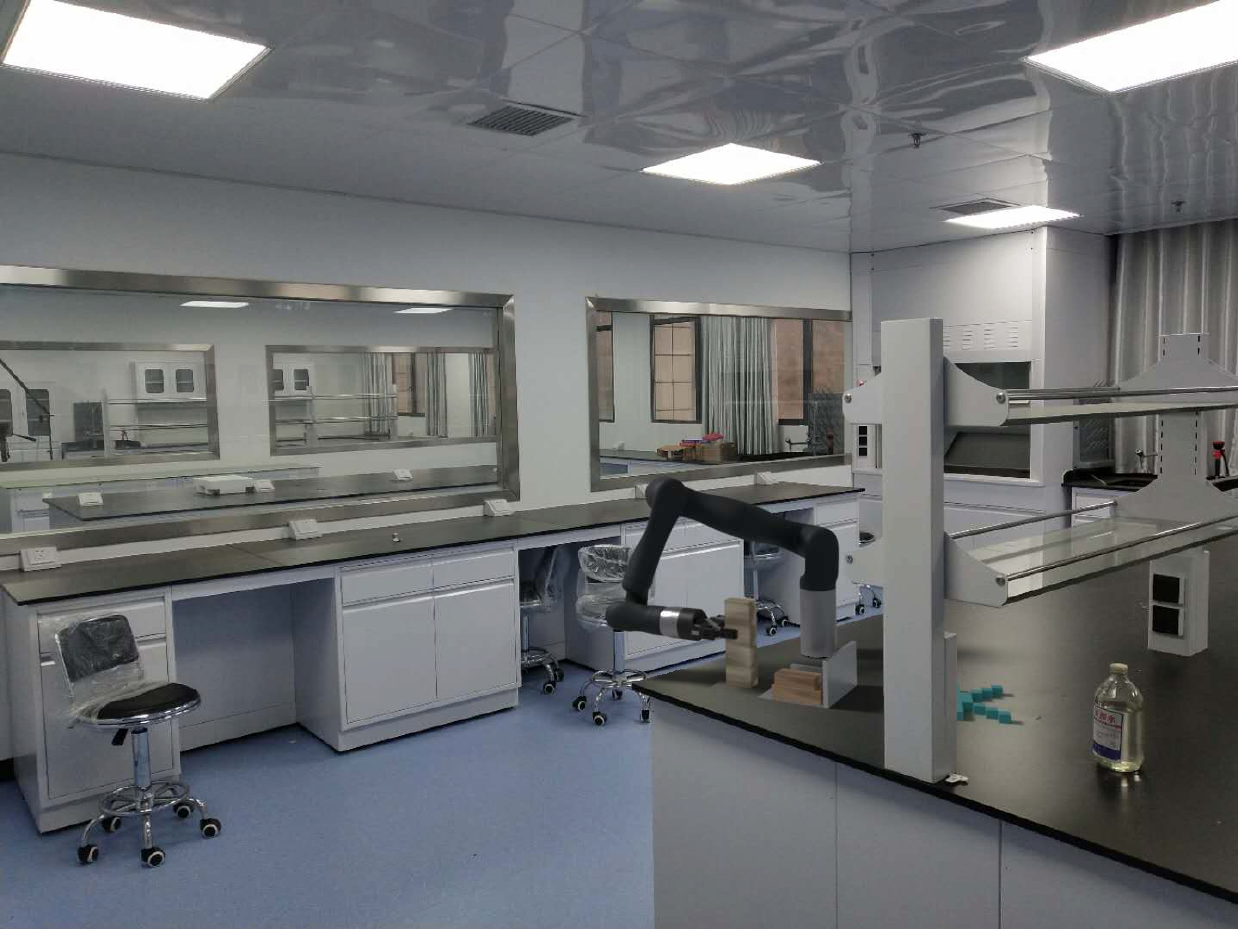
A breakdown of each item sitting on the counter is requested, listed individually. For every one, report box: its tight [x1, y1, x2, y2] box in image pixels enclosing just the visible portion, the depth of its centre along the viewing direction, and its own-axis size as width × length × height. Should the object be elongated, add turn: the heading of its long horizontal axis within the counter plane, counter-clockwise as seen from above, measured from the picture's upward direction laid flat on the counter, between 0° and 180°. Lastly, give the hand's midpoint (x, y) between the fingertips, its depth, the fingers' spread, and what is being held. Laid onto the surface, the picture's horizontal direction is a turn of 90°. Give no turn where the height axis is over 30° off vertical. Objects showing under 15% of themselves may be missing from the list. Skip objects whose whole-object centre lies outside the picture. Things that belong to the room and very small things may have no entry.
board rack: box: [757, 640, 858, 709], centre depth 202 cm, size 18×16×12 cm
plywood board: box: [723, 596, 759, 690], centre depth 209 cm, size 4×6×20 cm, turn 57°
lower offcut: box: [771, 682, 823, 704], centre depth 199 cm, size 5×11×2 cm, turn 57°
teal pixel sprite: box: [956, 682, 1012, 725], centre depth 195 cm, size 20×2×20 cm
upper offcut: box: [773, 667, 822, 691], centre depth 199 cm, size 5×9×2 cm, turn 57°
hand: (745, 630), depth 208 cm, fingers open, 8 cm apart
